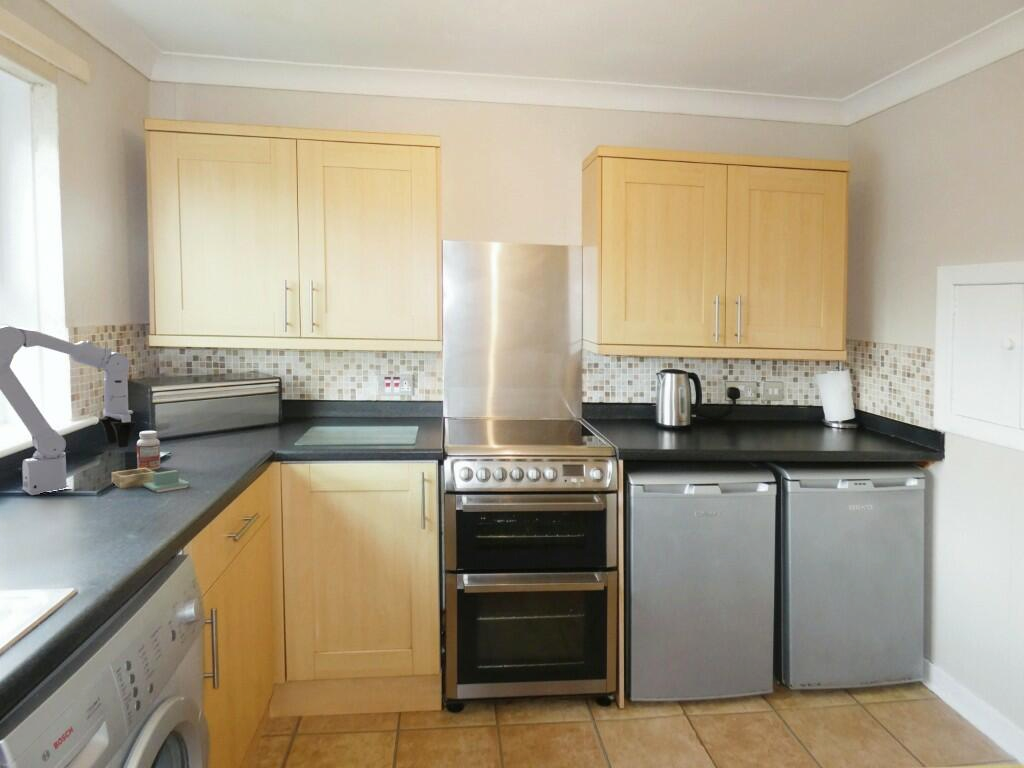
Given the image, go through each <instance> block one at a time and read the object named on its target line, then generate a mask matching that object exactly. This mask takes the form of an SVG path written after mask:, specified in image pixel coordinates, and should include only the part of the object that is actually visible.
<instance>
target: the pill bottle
mask: <svg viewBox="0 0 1024 768" xmlns="http://www.w3.org/2000/svg"><path fill="white" fill-rule="evenodd" d="M157 436H158V432H157V431H156V430H143V431H142V430H141V431H140V432H139V438H140V439H138V440H137V442H136V459H137V461H136V462H137V463H136V464H137V469H140V468H148V469H150V470H152V471H155V470H158V469H160V468H161V441H160V440H159V439H158V438H157Z"/></svg>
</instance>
